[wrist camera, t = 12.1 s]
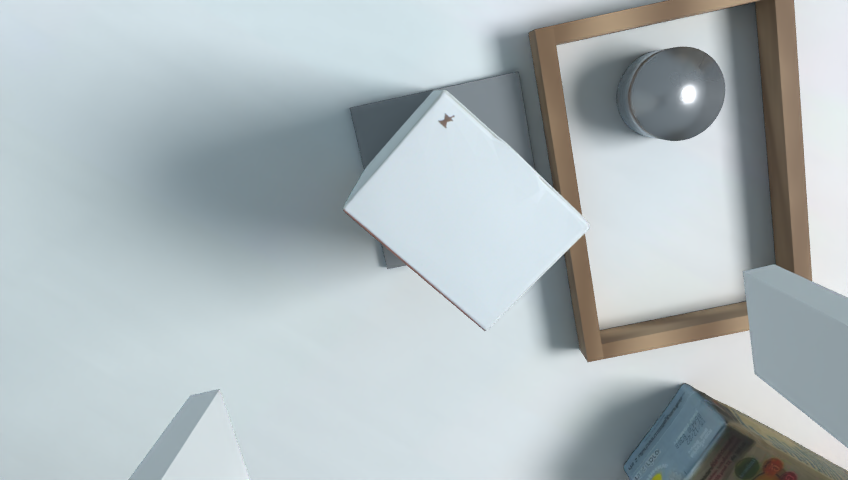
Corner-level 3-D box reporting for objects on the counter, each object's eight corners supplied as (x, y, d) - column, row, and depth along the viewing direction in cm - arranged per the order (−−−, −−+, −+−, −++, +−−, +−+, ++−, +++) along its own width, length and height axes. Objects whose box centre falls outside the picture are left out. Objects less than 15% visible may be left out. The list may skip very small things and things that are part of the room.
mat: (387, 267, 39) (387, 268, 38) (350, 107, 36) (349, 107, 36) (544, 235, 38) (546, 236, 38) (517, 71, 36) (518, 71, 36)
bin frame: (579, 349, 40) (587, 362, 38) (528, 32, 35) (534, 29, 34) (794, 306, 40) (814, 317, 38) (771, -20, 35) (792, -27, 33)
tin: (621, 144, 37) (638, 148, 34) (611, 59, 36) (628, 56, 33) (703, 128, 37) (728, 131, 34) (696, 43, 36) (721, 38, 33)
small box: (363, 168, 37) (336, 208, 24) (435, 86, 36) (445, 83, 23) (463, 255, 38) (487, 336, 25) (535, 179, 37) (596, 223, 24)
